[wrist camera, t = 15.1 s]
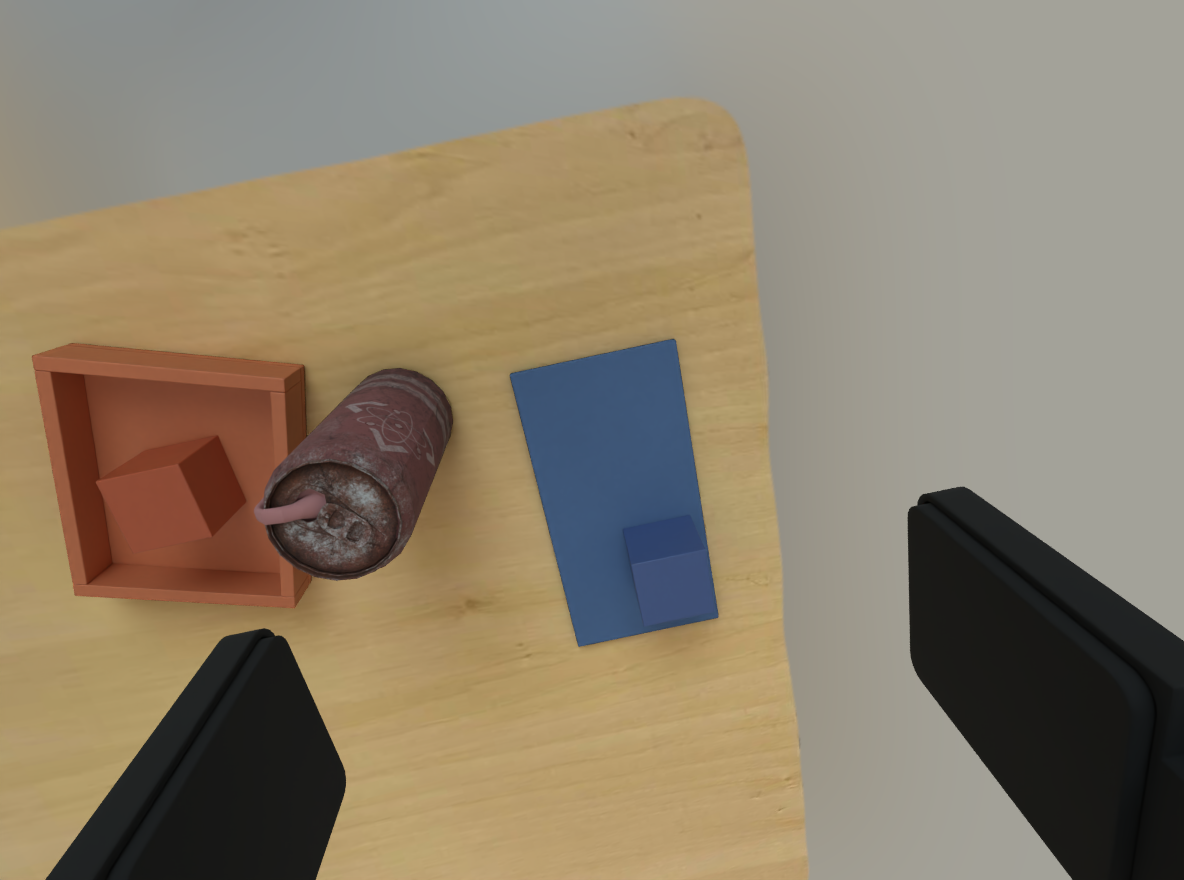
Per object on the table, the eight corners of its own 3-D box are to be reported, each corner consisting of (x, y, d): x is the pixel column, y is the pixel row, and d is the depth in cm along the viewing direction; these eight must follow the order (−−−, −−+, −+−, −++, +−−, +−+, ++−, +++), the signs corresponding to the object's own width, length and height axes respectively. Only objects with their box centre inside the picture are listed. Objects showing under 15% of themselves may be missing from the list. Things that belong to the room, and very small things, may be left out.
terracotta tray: (71, 342, 37) (30, 355, 34) (304, 364, 38) (284, 378, 35) (107, 568, 42) (74, 596, 39) (311, 580, 43) (294, 608, 40)
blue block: (622, 528, 42) (630, 565, 38) (689, 514, 42) (706, 549, 38) (634, 586, 44) (643, 627, 40) (699, 572, 44) (715, 612, 40)
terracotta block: (143, 450, 38) (94, 481, 34) (218, 434, 38) (177, 464, 34) (175, 516, 40) (132, 554, 36) (247, 501, 40) (212, 537, 36)
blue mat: (510, 373, 39) (509, 375, 38) (674, 338, 39) (675, 340, 38) (578, 642, 46) (578, 647, 46) (717, 613, 46) (718, 617, 45)
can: (337, 370, 38) (228, 461, 25) (446, 362, 38) (395, 448, 25) (356, 465, 40) (265, 595, 27) (459, 458, 41) (419, 582, 27)
